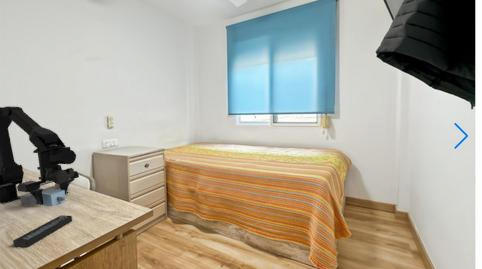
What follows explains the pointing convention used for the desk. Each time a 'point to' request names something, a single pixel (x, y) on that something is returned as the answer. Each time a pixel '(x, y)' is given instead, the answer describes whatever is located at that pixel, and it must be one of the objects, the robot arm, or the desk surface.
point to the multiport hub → (42, 231)
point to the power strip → (30, 199)
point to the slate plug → (53, 197)
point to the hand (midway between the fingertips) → (53, 200)
